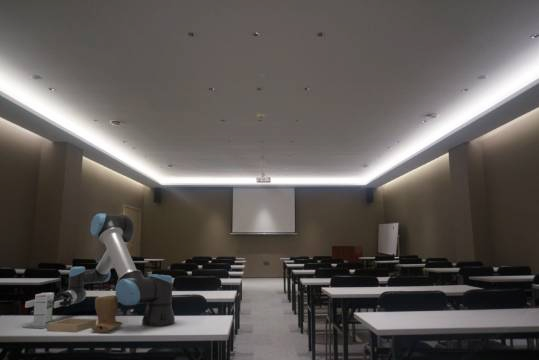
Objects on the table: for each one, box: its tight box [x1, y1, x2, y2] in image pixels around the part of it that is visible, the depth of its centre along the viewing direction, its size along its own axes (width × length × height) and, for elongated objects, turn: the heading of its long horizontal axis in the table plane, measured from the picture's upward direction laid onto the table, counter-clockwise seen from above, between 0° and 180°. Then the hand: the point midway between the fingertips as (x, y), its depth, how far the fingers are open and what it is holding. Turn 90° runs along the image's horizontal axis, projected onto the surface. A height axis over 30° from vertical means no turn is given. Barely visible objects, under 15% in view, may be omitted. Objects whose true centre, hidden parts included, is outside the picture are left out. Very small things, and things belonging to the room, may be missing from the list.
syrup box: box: [32, 292, 55, 326], centre depth 179 cm, size 6×6×14 cm
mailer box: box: [46, 317, 98, 333], centre depth 179 cm, size 15×26×3 cm, turn 169°
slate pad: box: [22, 324, 47, 330], centre depth 177 cm, size 11×11×1 cm
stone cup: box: [91, 294, 124, 334], centre depth 170 cm, size 15×12×15 cm
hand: (40, 304), depth 176 cm, fingers open, 13 cm apart
